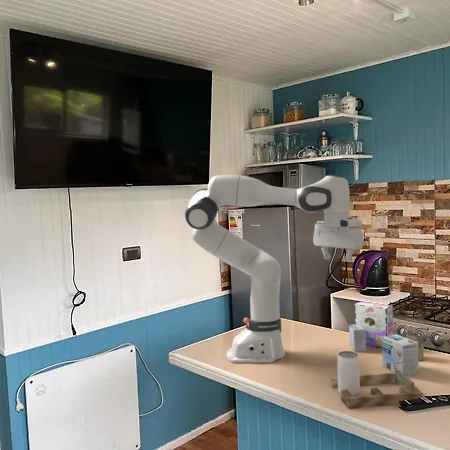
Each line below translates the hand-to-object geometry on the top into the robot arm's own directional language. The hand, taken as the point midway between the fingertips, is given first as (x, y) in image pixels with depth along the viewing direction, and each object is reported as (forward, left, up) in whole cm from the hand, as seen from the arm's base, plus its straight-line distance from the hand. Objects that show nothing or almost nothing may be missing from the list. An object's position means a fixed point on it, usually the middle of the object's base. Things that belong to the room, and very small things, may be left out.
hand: (337, 260), depth 165 cm
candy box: (+20, +17, -38) cm, 46 cm away
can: (-5, -25, -38) cm, 45 cm away
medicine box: (+12, +14, -38) cm, 42 cm away
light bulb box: (+18, -10, -38) cm, 43 cm away
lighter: (+28, 0, -38) cm, 47 cm away
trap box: (+2, -27, -37) cm, 46 cm away
